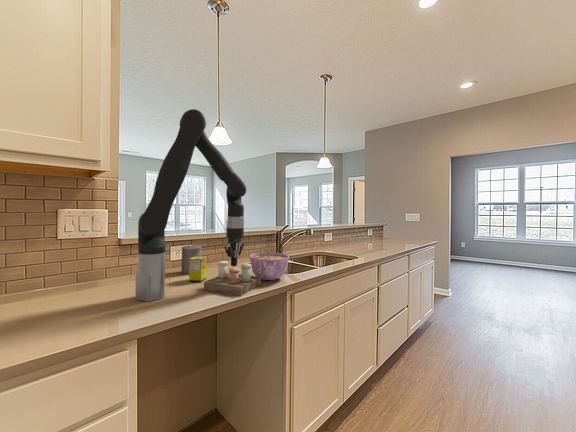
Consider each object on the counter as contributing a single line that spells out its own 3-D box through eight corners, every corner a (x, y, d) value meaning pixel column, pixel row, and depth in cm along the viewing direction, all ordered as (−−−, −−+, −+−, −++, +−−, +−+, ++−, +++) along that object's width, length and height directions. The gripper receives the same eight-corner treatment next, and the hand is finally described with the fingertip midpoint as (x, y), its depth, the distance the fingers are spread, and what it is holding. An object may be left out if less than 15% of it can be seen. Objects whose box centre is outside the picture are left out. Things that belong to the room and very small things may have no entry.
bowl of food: (270, 287, 123) (271, 261, 122) (240, 278, 135) (240, 255, 135) (296, 278, 139) (297, 255, 138) (267, 271, 151) (267, 251, 150)
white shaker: (223, 279, 120) (224, 263, 120) (215, 278, 122) (215, 262, 121) (229, 276, 124) (229, 261, 124) (221, 275, 126) (221, 260, 125)
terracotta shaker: (235, 286, 118) (235, 270, 118) (226, 285, 120) (227, 269, 119) (240, 284, 122) (241, 268, 122) (232, 282, 124) (232, 267, 123)
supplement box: (206, 279, 133) (206, 256, 132) (201, 282, 127) (201, 259, 126) (194, 278, 133) (194, 256, 133) (188, 281, 127) (189, 258, 127)
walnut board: (241, 296, 109) (241, 287, 109) (203, 290, 116) (204, 281, 115) (261, 284, 126) (261, 277, 126) (227, 279, 132) (227, 272, 132)
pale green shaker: (247, 282, 116) (248, 266, 116) (238, 281, 117) (239, 265, 117) (252, 280, 120) (253, 264, 120) (243, 278, 122) (244, 263, 121)
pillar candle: (180, 270, 147) (181, 243, 147) (199, 269, 151) (200, 242, 151) (182, 275, 139) (182, 246, 138) (202, 273, 143) (202, 245, 142)
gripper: (234, 228, 113) (233, 270, 113) (250, 226, 125) (248, 264, 125) (219, 227, 115) (217, 267, 116) (235, 225, 128) (234, 262, 128)
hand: (233, 265), depth 121 cm, fingers closed
